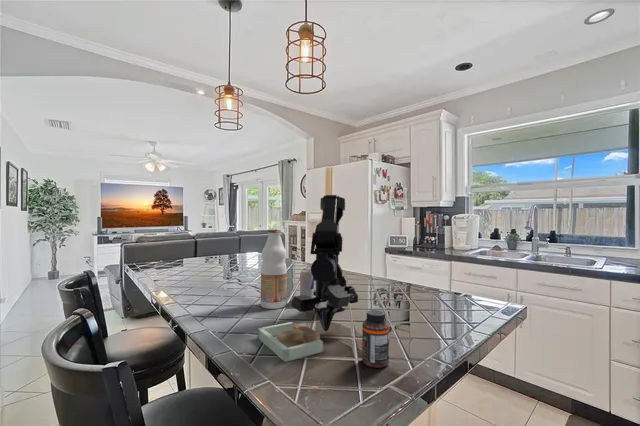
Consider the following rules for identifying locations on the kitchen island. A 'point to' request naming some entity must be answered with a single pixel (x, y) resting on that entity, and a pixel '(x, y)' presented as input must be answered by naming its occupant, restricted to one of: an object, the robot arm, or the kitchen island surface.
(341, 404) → the kitchen island surface
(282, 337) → the t block
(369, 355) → the supplement bottle
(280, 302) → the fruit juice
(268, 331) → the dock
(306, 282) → the energy drink
